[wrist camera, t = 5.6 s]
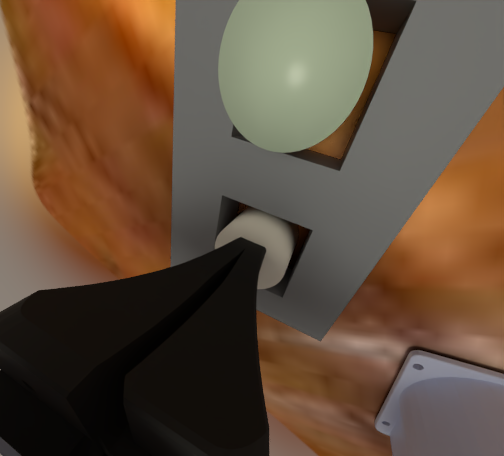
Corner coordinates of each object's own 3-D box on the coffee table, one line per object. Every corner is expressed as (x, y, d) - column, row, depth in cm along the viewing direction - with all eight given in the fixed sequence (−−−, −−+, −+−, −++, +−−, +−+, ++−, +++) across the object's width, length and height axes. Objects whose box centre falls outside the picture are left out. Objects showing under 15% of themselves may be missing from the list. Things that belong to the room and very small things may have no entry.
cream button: (287, 265, 13) (273, 300, 10) (235, 242, 14) (210, 270, 11) (308, 215, 11) (297, 243, 9) (246, 192, 12) (220, 211, 9)
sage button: (334, 153, 8) (329, 170, 6) (248, 128, 9) (210, 132, 6) (386, 28, 6) (414, -31, 4) (271, 9, 7) (230, -51, 4)
